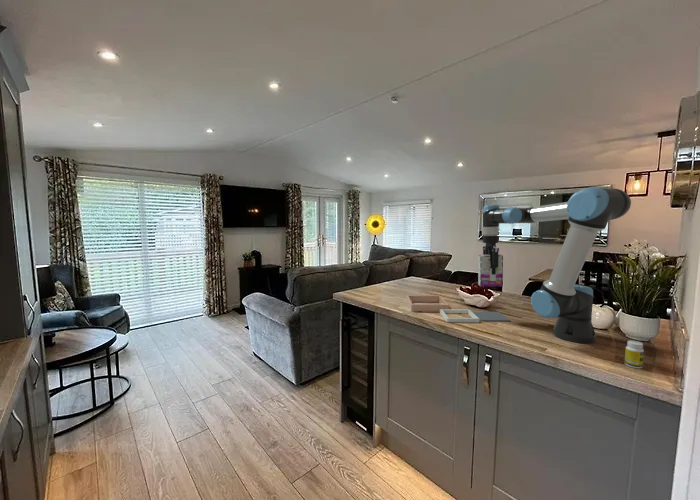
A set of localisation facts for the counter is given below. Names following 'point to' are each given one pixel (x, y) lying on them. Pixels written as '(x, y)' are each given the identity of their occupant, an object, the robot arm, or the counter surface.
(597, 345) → the counter surface
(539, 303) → the robot arm
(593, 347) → the counter surface
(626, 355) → the supplement bottle
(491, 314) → the mat
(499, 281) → the candy bar box
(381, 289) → the counter surface
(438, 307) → the pinkish tan tray
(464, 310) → the grey square frame
